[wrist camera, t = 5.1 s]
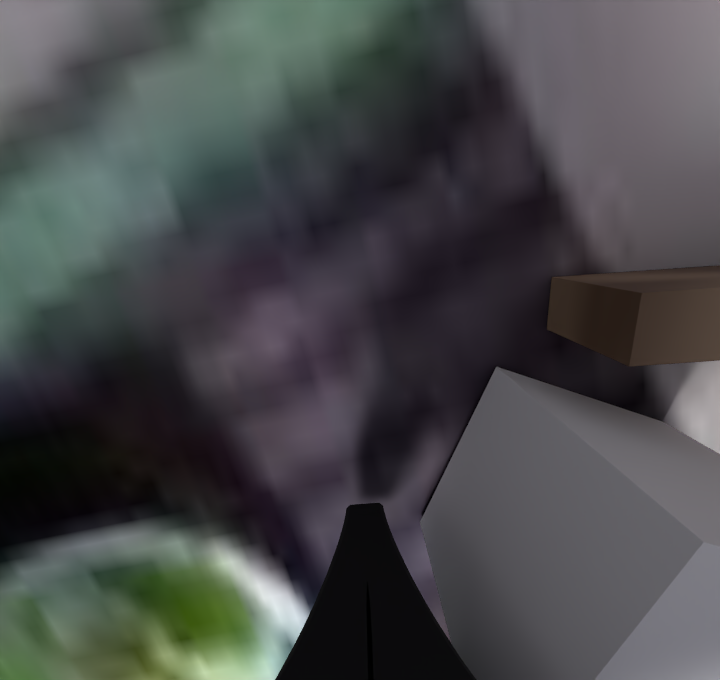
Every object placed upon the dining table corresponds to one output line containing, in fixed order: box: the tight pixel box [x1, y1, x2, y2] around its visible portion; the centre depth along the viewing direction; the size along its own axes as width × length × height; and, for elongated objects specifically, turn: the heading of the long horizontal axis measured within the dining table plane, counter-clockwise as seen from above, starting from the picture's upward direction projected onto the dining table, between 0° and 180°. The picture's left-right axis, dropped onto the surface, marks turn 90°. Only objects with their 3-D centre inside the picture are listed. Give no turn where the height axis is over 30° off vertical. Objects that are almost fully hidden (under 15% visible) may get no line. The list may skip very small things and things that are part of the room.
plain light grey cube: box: [420, 367, 720, 680], centre depth 8 cm, size 6×6×6 cm
